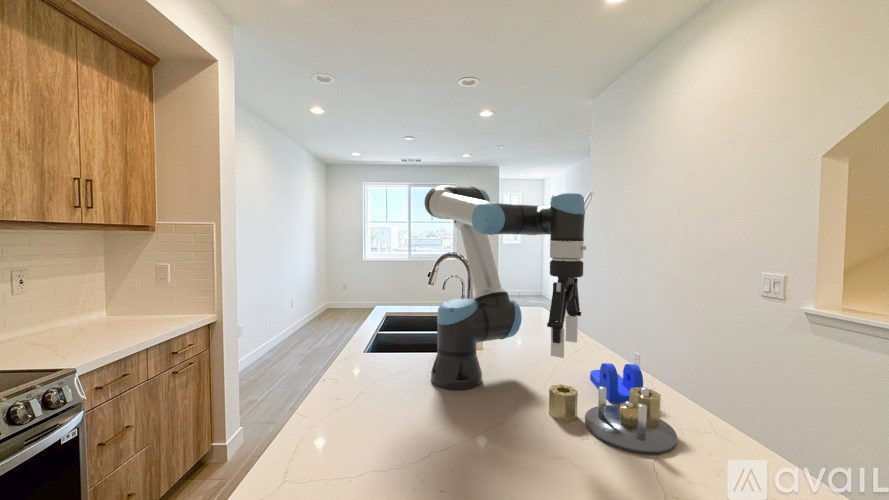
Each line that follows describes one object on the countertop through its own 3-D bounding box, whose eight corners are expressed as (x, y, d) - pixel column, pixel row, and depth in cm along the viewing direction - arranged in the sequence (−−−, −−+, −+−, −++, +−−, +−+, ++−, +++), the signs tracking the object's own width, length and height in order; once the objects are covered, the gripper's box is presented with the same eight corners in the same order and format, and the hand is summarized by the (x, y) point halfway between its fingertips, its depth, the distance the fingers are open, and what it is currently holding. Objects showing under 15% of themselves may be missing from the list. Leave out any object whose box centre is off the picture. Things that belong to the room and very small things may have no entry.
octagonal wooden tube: (546, 416, 85) (547, 391, 84) (553, 406, 90) (554, 382, 89) (572, 423, 81) (573, 397, 81) (578, 412, 86) (579, 388, 86)
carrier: (577, 436, 76) (578, 398, 76) (592, 403, 91) (593, 372, 91) (677, 466, 67) (679, 423, 66) (676, 423, 82) (677, 388, 81)
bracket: (642, 404, 91) (643, 369, 91) (609, 403, 92) (610, 368, 92) (613, 376, 109) (614, 347, 109) (586, 375, 110) (587, 347, 110)
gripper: (570, 263, 72) (568, 367, 72) (592, 257, 93) (591, 338, 93) (534, 261, 76) (532, 360, 76) (563, 256, 97) (561, 334, 97)
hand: (564, 348), depth 85 cm, fingers open, 13 cm apart
